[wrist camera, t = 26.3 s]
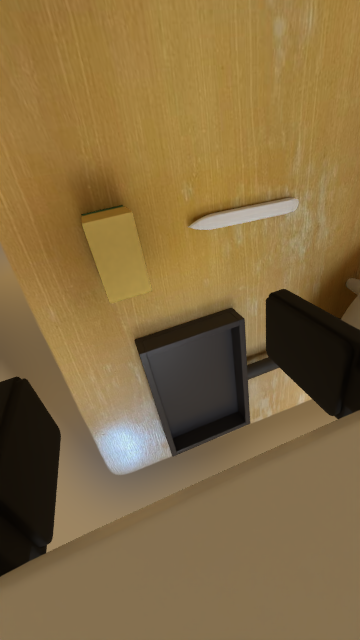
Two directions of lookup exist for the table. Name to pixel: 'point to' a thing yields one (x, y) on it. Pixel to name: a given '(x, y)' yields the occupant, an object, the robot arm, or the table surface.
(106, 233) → the sponge
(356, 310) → the table lamp
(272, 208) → the pen
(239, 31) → the table surface
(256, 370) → the pan handle
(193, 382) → the pan
